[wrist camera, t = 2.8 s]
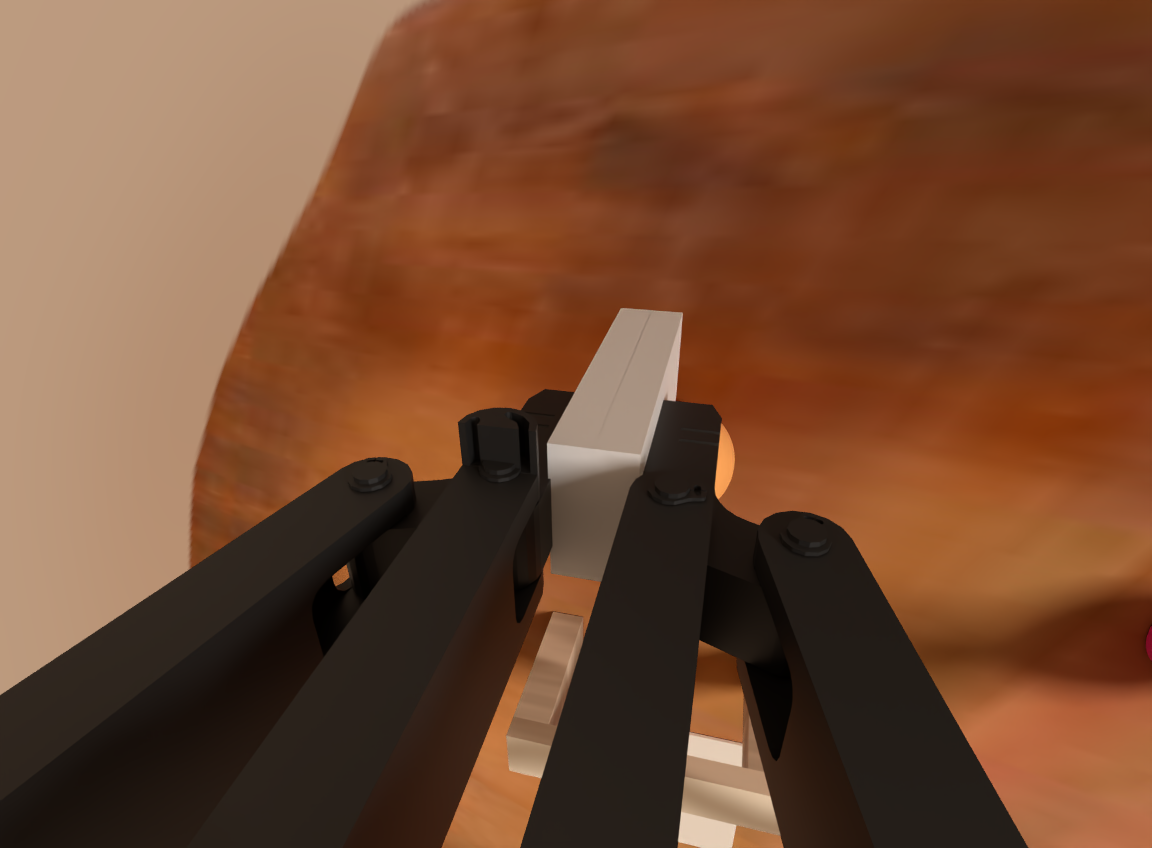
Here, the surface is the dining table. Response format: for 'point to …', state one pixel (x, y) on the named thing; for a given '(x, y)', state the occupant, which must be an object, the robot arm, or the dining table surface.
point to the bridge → (706, 781)
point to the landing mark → (703, 830)
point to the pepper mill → (1149, 643)
